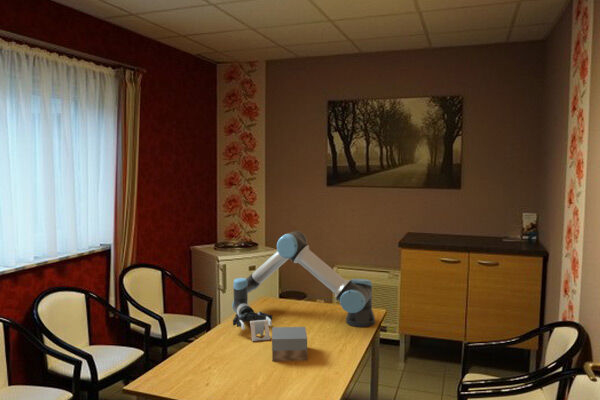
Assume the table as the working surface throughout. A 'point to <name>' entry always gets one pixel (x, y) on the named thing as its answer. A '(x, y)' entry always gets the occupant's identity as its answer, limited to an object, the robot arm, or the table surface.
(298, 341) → the tower top block
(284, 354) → the tower bottom block
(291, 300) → the table surface
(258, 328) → the portable electronic device stand
